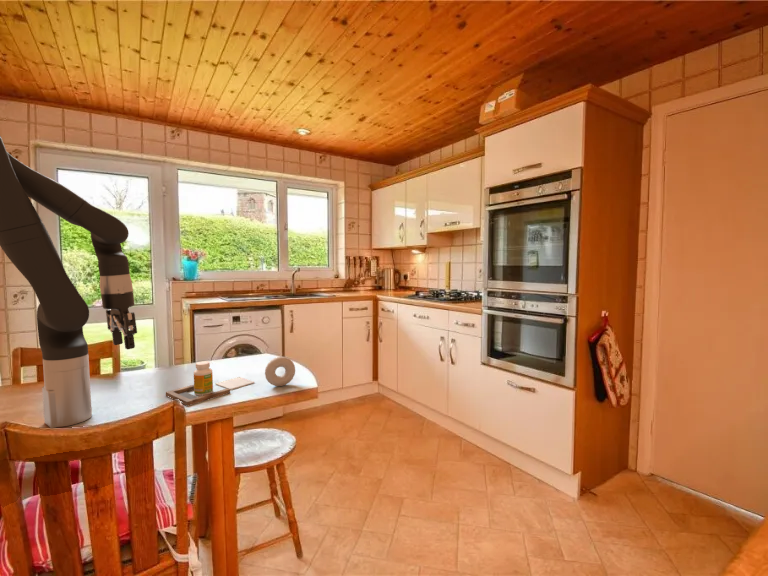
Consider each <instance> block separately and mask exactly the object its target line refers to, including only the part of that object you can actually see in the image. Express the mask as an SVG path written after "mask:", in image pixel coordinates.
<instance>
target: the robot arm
mask: <svg viewBox="0 0 768 576" xmlns="http://www.w3.org/2000/svg"><path fill="white" fill-rule="evenodd" d="M4 143H5V142H4V140H3V138H2V137H1V135H0V248H1V250H2V251H3V252H4V254H5V255H6V257H7V258H8V259H9V261H10V262H11V263H12V264H13V265H14V266H15V268H16V270H18V271H19V273H20V274H21V275H22V276H23V277H24V278H25V279H26V280H27V282H28V283H29V284H30V286H31V288H32V290H33V291H34V293H35V296H36V299H37V300H38V302H39V304H38V306H37V309H36V323H37V324H36V325H37V334H38V344H39V347H40V351H41V354H42V355H41V357H42V366H43V368H42V369H43V370H42V371H43V381H44V382H43V384H44V386H42V389H41V390H42V404H43V406H42V407H43V418H44V420H43V421H44V424H45V425H46V426H48V428H49V429H55V428H61V427H69V426H72V425H77V424H81V423H82V422H85V421H88V420H89V419H91V417H92V415H93V411H92V410H93V407H92V398H91V397H92V393H91V392H92V391H91V379H90V378H91V377H90V361H89V359H90V358H89V345H88V343H87V341H86V338H85V336H84V326H85V325H86V324H87V322H88V321H89V318H90V308H89V306H88V304H87V302H86V301H85V299H84V298H83V297H82V295H81V294H80V293H79V291H78V289H77V288H76V286H75V285H74V283H73V282H72V280H71V279H70V276H68V275H69V274H68V273H67V271H66V269H65V267H64V265H63V263H62V259H61V258H60V255H59V253H58V251H57V249H56V246H55V244H54V242H53V240H52V238H51V235H50V234H49V231H48V230H47V228H46V226H45V224H44V222H43V219H42V218H41V217H40V215H39V213H38V211H37V210H36V207H35V206H34V204H33V202H32V201H31V200H33V201H34V202H36V203H37V204H39V205H40V206H42V207H43V208H46V209H47V210H48V211H50V212H52V213H53V214H55V215H56V216H58V217H59V218H61V219H63V220H65V221H66V222H68V223H69V224H72V225H74V226H77V227H81V228H83V229H84V230H86V231H87V232H90V240H91V244H92V246H93V249H94V252H95V253H94V254H95V255H96V258H97V265H98V274H99V289H100V297H101V305H102V309H104V310H105V317H106V323H107V325H106V326H107V329H108V331H110V333H111V336H112V342H113V346H118V345H122V344H123V343H124V348H125V349H126V350H132V349H135V348H136V343H135V334H138V328H137V327H138V326H137V322H136V314H135V312H133V311H132V312H130V311H129V308H131V307H133V306H135V304H136V303H135V298H134V295H135V294H134V290H133V289H134V288H133V282H132V278H131V273H130V265H129V259H128V257H127V255H126V254H125V253H123V249H122V243H124V242H126V241H127V239H128V237H129V228H128V227H127V225H125V223H124V222H122V220H120V219H119V218H117V217H116V216H113V214H110V213H108V212H106V211H105V210H103V209H101V208H99V207H96V206H95V205H93V204H91V202H89V201H88V200H86V199H84V197H81V196H80V195H79V194H77V193H76V192H74V191H73V190H71V189H70V188H68V187H67V186H66V185H64V184H62V183H61V182H60V183H59V182H58V181H56V180H54V179H52V178H50V177H48V176H46V175H45V174H42V173H40V172H38V171H36V170H34V169H32V168H31V167H29V166H27V165H26V164H24V163H23V162H22V161H20V160H18V159H17V158H16V157H14V156H13V155H11V154H10V153H9V152H8V151H7V149H6V147H5V144H4ZM123 341H124V342H123Z"/></svg>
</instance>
